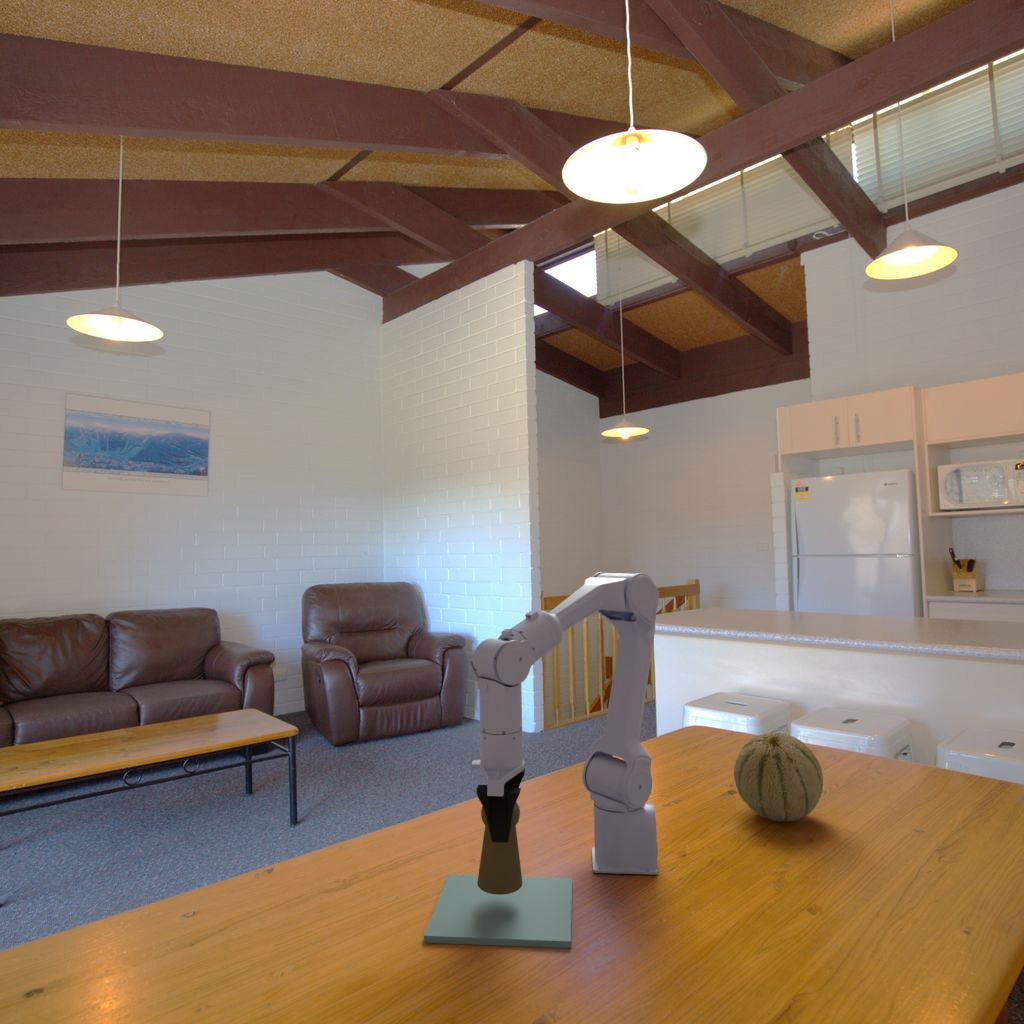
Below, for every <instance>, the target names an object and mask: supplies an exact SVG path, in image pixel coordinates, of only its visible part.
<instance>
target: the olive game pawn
mask: <svg viewBox="0 0 1024 1024" xmlns="http://www.w3.org/2000/svg"><path fill="white" fill-rule="evenodd" d="M481 806H482V805H481ZM480 811H481V812H480V815H481V820H482V822H483V824H484V825H485V826H484V832H483V837H482V838H483V840H482V848H481V853H480V861H479V869H478V874H477V875H478V882H477V884H478V887H479V888H480V889H481V890H482V891H484V892H487V893H490V894H497V895H503V894H510V893H513V892H515V891H517V890H519V889H520V888H521V887H522V875H523V874H522V867H521V859H520V851H519V842H518V833H517V832H518V831H517V826H516V825H517V824H518V823H519V820H520V817H521V809H520V805H519V804H518V802H517V801H516V803H515V806H514V809H513V815H512V822H511V830H510V836H509V840H508V842H507V843H504V842H492V839H491V836H490V831H489V826H488V822H487V817H486V814H485V811H484V808H483V806H482V807H481V809H480Z"/></svg>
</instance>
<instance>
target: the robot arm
mask: <svg viewBox="0 0 1024 1024" xmlns="http://www.w3.org/2000/svg"><path fill="white" fill-rule="evenodd" d="M659 597H660V590H659V589H658V588H657V586H656V584H655V582H654V581H653V579H652V578H651V577H650V575H648V574H647V573H644V572H637V573H623V572H621V573H620V572H619V573H618V572H617V573H616V572H614V573H613V572H606V571H604V572H603V571H599V572H596V573H595V574H593V575H592V576H591V577H588V578H586V579H585V580H584V582H583V585H582V586H581V587H580V588H578V589H576V591H574V592H573V593H571V595H569V596H568V597H567V598H565V599H564V600H563V601H562V602H560V603H559V604H558V605H556V606H555V607H554V608H553V609H552V610H550V611H548V612H547V611H544V610H537V611H536V610H529V611H528V612H527V613H525V615H524V616H525V618H524V619H523V620H521V621H519V622H518V623H517V624H516V625H514V626H512V627H511V628H505V629H503V630H502V631H501V632H500V633H501V634H500V635H499V637H497V638H494V637H492V638H491V637H490V638H485V639H484V640H483V641H481V642H480V643H479V644H478V646H477V647H476V648H475V649H474V652H473V656H472V659H470V660H469V667H470V670H471V672H472V674H473V675H474V677H475V678H476V681H477V683H476V684H477V690H479V691H478V695H479V743H480V744H479V752H480V753H479V754H480V759H474V760H472V762H471V769H472V770H479V771H480V773H481V774H482V776H483V777H484V779H485V780H486V784H478V785H477V788H476V796H477V798H478V800H479V801H480V803H481V806H483V808H484V811H485V814H486V817H487V822H488V826H489V831H490V836H491V839H492V842H504V843H507V842H508V840H509V836H510V830H511V822H512V815H513V809H514V806H515V803H516V802H517V801H518V799H519V795H520V794H521V791H522V790H521V789H522V788H521V787H520V785H521V783H522V780H523V778H524V776H525V774H526V768H525V760H523V759H524V758H523V757H524V755H523V753H524V749H523V747H524V746H523V707H522V705H523V703H522V701H523V700H522V699H523V698H522V695H523V694H522V693H523V692H522V683H524V681H526V679H527V678H528V676H529V673H530V670H531V668H532V666H533V665H534V664H535V663H536V662H537V661H538V660H540V659H541V658H543V657H544V656H545V655H547V654H548V653H549V652H551V651H552V650H554V649H555V648H557V647H558V646H560V644H561V643H562V639H563V632H566V631H567V630H568V629H571V627H573V626H575V625H577V624H578V623H580V622H582V621H583V620H585V619H587V618H588V617H590V616H592V615H593V614H595V613H596V612H597V613H598V614H599V615H601V616H602V617H603V618H604V619H605V620H606V621H608V622H609V624H611V625H612V626H613V627H614V629H615V630H616V632H617V633H618V640H617V641H618V642H617V648H616V655H615V661H614V669H613V676H612V679H611V680H612V681H611V688H610V694H609V700H608V708H607V713H606V719H605V727H604V733H603V735H601V736H600V737H599V738H597V739H596V740H595V741H593V742H592V743H591V744H590V750H589V755H588V757H587V759H586V760H585V762H584V764H583V768H582V774H581V775H582V777H581V778H582V784H583V786H584V788H585V789H586V790H587V791H588V792H589V793H590V795H589V797H590V800H591V801H593V826H594V827H593V829H594V833H593V834H594V835H593V836H594V837H593V839H594V846H592V847H591V858H592V859H591V860H592V864H591V865H592V872H593V873H595V874H616V875H617V874H619V875H621V874H623V875H654V876H655V875H658V874H659V870H658V855H659V846H658V841H657V839H658V838H657V820H656V819H657V818H656V810H655V809H656V808H655V806H654V803H650V802H648V800H649V799H650V797H651V793H652V789H653V777H652V771H651V769H652V757H651V756H650V754H649V753H648V751H647V750H646V749H645V747H644V746H643V745H642V743H641V742H640V738H641V731H642V725H643V724H642V723H643V716H644V711H645V702H646V695H647V689H648V688H647V687H648V681H649V673H650V667H651V661H652V653H653V648H654V647H653V646H654V638H655V634H656V633H655V631H656V617H657V612H658V611H657V610H658V605H659Z"/></svg>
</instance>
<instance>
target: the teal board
mask: <svg viewBox="0 0 1024 1024" xmlns="http://www.w3.org/2000/svg"><path fill="white" fill-rule="evenodd" d="M478 875H479V874H456V873H455V874H453V873H452V874H451V873H449V874H448V875H447V877H446V880H445V882H444V884H443V887H442V889H441V892H440V895H439V897H438V898H437V899H438V900H437V902H436V905H435V907H434V910H433V912H432V915H431V917H430V919H429V922H428V925H427V928H426V930H425V932H424V935H423V943H427V944H431V943H432V944H451V945H452V944H453V945H455V944H456V945H457V944H458V945H479V946H480V945H482V946H483V945H484V946H500V947H501V946H504V947H506V946H508V947H509V946H510V947H527V948H528V947H531V948H551V949H552V948H553V949H554V948H556V949H571V948H572V919H573V918H572V915H573V913H572V912H573V908H572V907H573V878H572V877H556V876H555V877H553V876H552V877H551V876H550V877H549V876H522V887H521V888H520V889H519V890H517V891H515V892H513V893H510V894H503V895H497V894H490V893H487V892H484V891H482V890H481V889H480V888H479V887H478V884H477V882H478Z"/></svg>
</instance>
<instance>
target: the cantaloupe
mask: <svg viewBox="0 0 1024 1024" xmlns="http://www.w3.org/2000/svg"><path fill="white" fill-rule="evenodd" d="M733 778H734V783H735V786H736V788H737V792H738V794H739V796H740V798H741V799H742V801H743V802H744V803H745V804H746V806H747V807H748V808H750V809H751V810H752V812H754V813H756V814H757V815H759V816H760V817H762V818H765V819H768V820H771V821H773V822H781V823H782V822H794V821H798V820H800V819H802V818H803V817H807V816H808V815H810V813H811V812H812V811H813V810H815V808H816V807H817V805H818V803H819V802H820V800H821V797H822V793H823V790H824V789H823V788H824V776H823V771H822V766H821V763H820V761H819V759H818V758H817V757H816V755H815V754H814V752H813V751H812V750H811V749H810V748H809V747H808V746H807V745H806V744H805V743H804V742H803V741H802V740H800V739H799V738H797V737H796V736H792V735H791V734H788V733H780V732H767V733H761V734H758V735H755V736H753V737H752V738H750V739H749V740H748V741H747V742H746V743H745V744H743V746H742V747H741V748H740V750H739V752H738V755H737V757H736V759H735V762H734V767H733Z"/></svg>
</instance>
